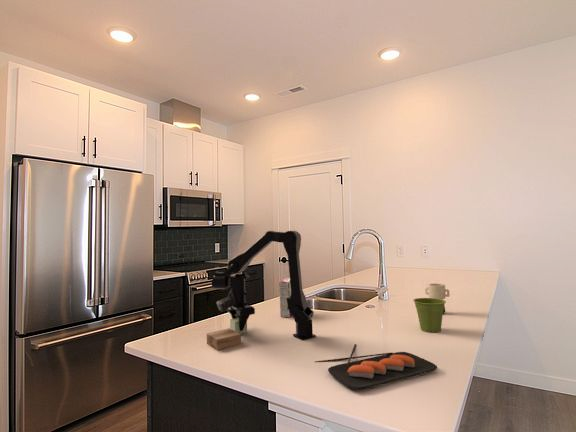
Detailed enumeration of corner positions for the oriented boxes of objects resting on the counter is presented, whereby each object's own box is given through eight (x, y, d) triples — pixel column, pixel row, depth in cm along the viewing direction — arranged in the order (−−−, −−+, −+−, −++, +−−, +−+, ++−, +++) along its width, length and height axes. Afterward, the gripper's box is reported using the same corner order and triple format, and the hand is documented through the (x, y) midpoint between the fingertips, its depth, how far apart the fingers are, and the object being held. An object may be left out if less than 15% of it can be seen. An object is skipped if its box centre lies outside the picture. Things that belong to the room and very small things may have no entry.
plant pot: (451, 329, 130) (450, 299, 131) (441, 336, 122) (439, 305, 122) (421, 323, 138) (420, 296, 139) (409, 330, 130) (407, 301, 130)
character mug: (453, 313, 154) (451, 284, 154) (447, 316, 149) (446, 286, 149) (429, 309, 161) (427, 282, 162) (423, 312, 156) (421, 284, 157)
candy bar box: (284, 311, 165) (283, 278, 166) (294, 311, 164) (293, 278, 165) (279, 317, 154) (278, 281, 155) (290, 317, 153) (289, 281, 154)
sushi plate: (354, 397, 80) (353, 381, 81) (299, 356, 108) (299, 344, 108) (442, 374, 92) (442, 359, 92) (373, 342, 119) (373, 331, 120)
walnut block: (240, 345, 119) (240, 334, 119) (217, 351, 113) (217, 339, 114) (229, 339, 126) (229, 328, 126) (206, 344, 121) (206, 333, 121)
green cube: (247, 332, 133) (246, 319, 133) (235, 334, 130) (235, 321, 130) (242, 329, 137) (241, 317, 137) (230, 331, 134) (230, 319, 135)
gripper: (210, 288, 138) (211, 327, 137) (227, 295, 122) (228, 339, 121) (236, 285, 144) (236, 322, 143) (255, 291, 128) (255, 333, 127)
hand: (238, 329), depth 134 cm, fingers closed on green cube, 5 cm apart
